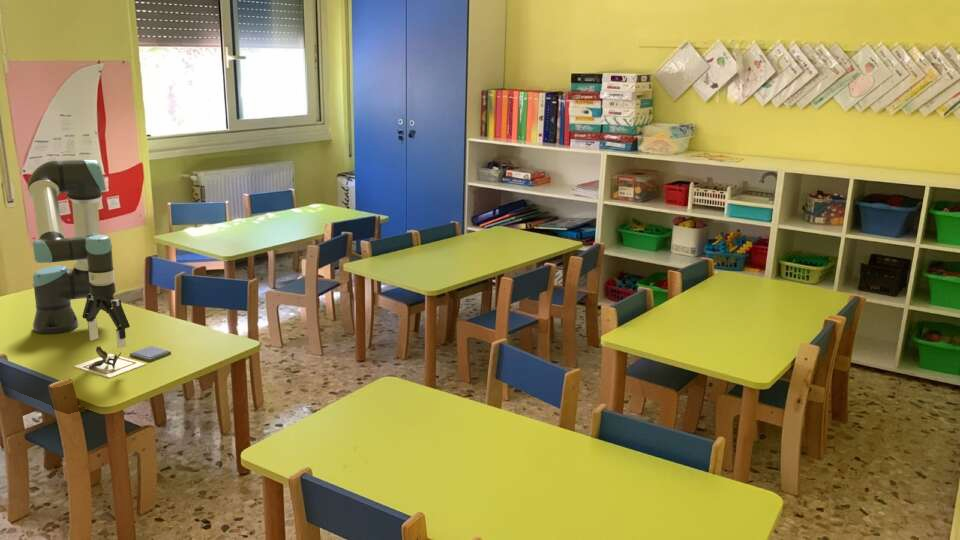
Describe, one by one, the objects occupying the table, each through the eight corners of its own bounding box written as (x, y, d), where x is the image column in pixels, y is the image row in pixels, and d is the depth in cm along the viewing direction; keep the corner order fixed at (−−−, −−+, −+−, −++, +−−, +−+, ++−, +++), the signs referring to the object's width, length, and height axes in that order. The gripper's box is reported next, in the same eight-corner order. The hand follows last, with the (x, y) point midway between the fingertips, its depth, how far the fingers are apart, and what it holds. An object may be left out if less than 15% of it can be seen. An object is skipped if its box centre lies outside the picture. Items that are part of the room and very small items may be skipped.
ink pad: (129, 356, 275) (129, 352, 275) (151, 348, 283) (150, 345, 282) (149, 361, 271) (149, 358, 270) (170, 353, 278) (170, 350, 278)
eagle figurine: (123, 359, 268) (98, 353, 268) (119, 347, 263) (93, 340, 263) (112, 377, 263) (86, 370, 263) (108, 365, 258) (81, 358, 258)
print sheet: (73, 367, 264) (73, 365, 264) (110, 354, 276) (110, 353, 276) (110, 378, 256) (109, 376, 256) (145, 364, 268) (145, 363, 268)
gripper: (66, 278, 261) (73, 339, 267) (118, 292, 250) (123, 354, 256) (87, 273, 267) (92, 332, 273) (137, 286, 256) (142, 347, 262)
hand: (107, 343), depth 264 cm, fingers open, 13 cm apart
